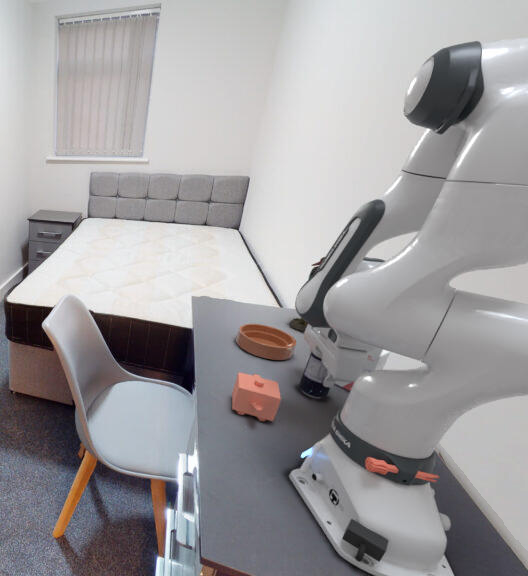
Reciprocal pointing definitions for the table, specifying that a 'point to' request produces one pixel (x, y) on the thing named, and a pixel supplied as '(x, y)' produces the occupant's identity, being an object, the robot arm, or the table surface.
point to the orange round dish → (266, 341)
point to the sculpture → (299, 322)
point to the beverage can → (314, 376)
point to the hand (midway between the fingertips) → (319, 375)
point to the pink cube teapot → (256, 396)
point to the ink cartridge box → (369, 365)
